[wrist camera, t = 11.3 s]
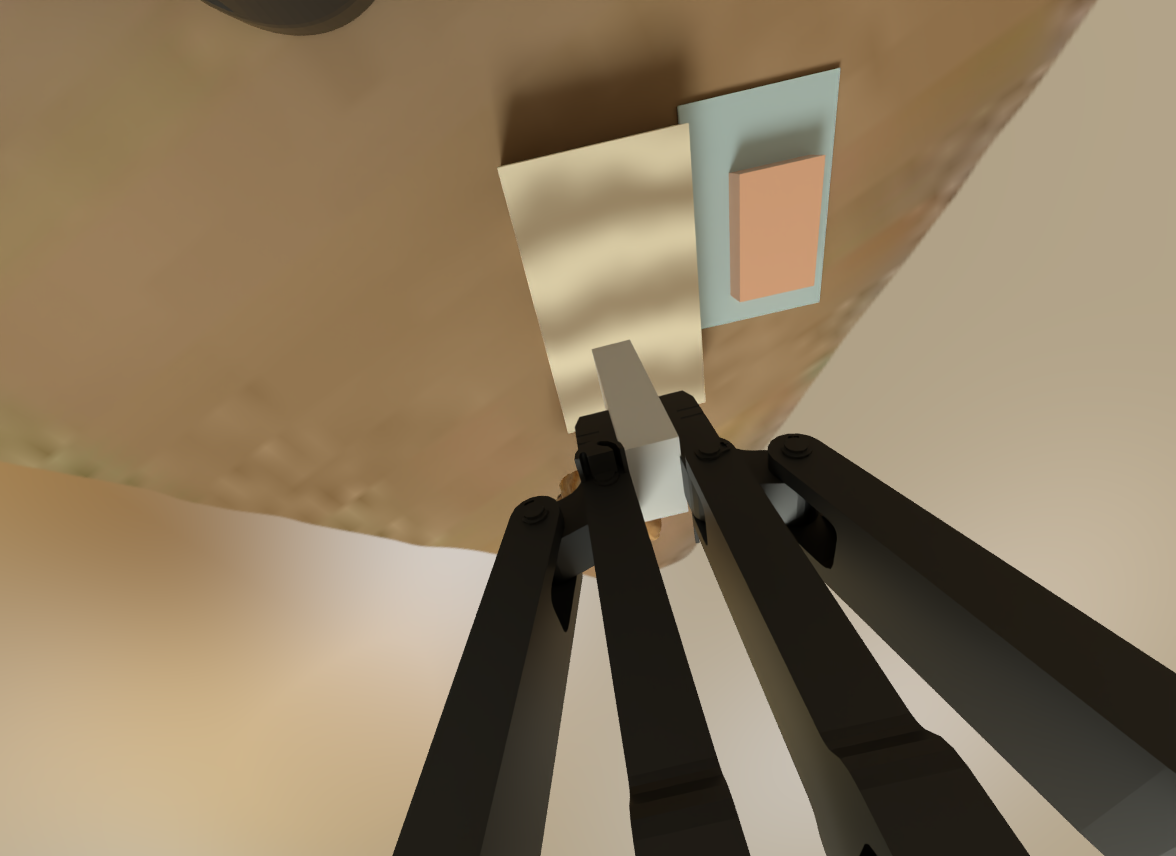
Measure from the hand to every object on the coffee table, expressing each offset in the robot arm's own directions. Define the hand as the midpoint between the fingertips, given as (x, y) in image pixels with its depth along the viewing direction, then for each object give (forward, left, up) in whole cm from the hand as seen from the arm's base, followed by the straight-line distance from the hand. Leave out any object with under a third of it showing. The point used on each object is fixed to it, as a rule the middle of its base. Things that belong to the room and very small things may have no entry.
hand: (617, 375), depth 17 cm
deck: (+3, +2, -20) cm, 21 cm away
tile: (+1, +15, -18) cm, 24 cm away
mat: (0, +14, -20) cm, 25 cm away
